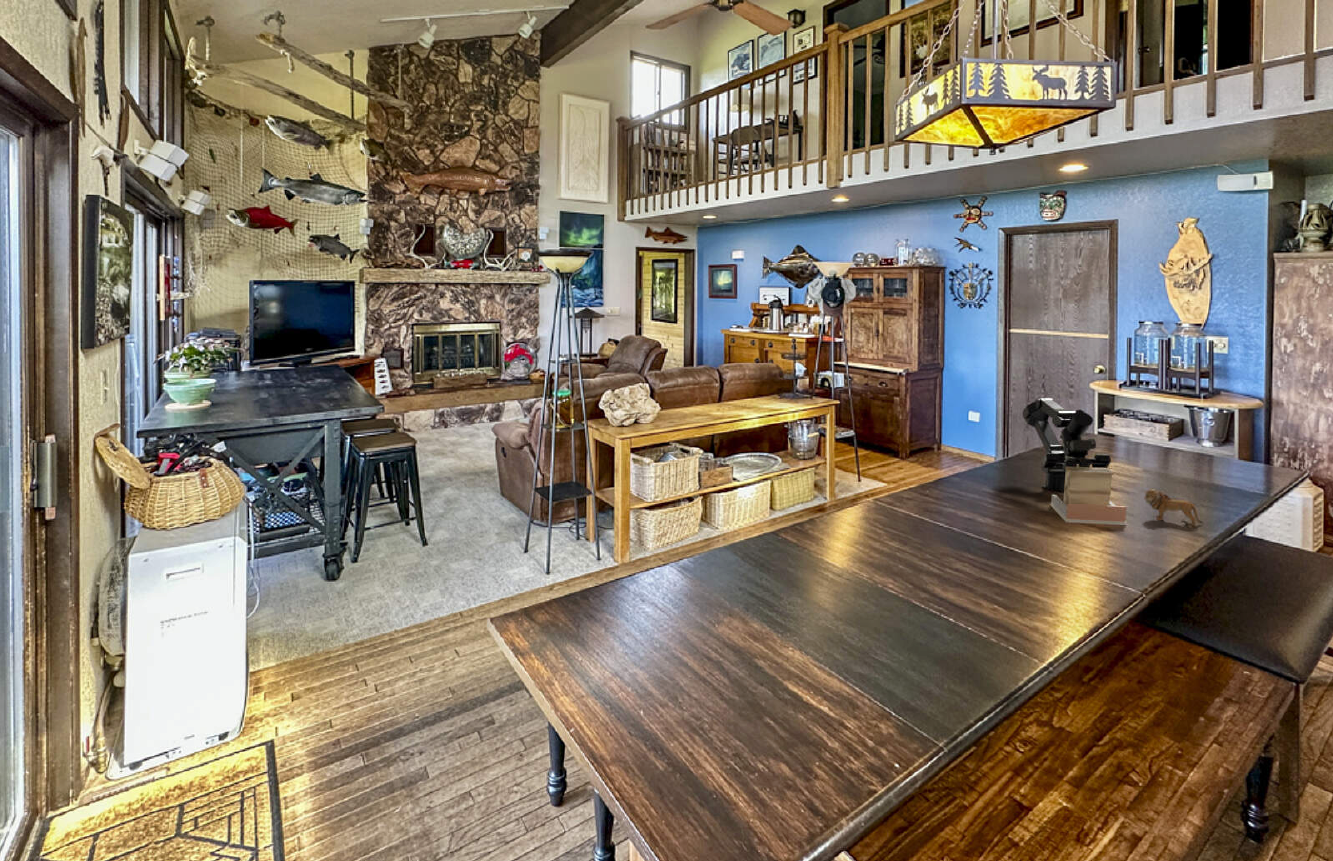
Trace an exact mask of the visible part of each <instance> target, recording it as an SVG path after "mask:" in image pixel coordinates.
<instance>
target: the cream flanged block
mask: <svg viewBox="0 0 1333 861" xmlns="http://www.w3.org/2000/svg"><path fill="white" fill-rule="evenodd" d="M1065 470H1066V475H1065V485H1064V491H1063V502H1064V503H1065V504H1066V505H1067V504H1085V505H1109V502H1110V501H1111V500H1110V499H1111V495H1112V494H1111V493H1112V491H1111V489H1112V479H1113V478H1112V477H1113V476H1114V472H1113V471H1111V470H1110V469H1108V467H1107V468H1092V466H1090V467H1079V466H1077V467H1065Z"/></svg>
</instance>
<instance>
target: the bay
mask: <svg viewBox="0 0 1333 861" xmlns="http://www.w3.org/2000/svg"><path fill="white" fill-rule="evenodd" d="M1050 506H1051V507H1052V508H1053V510H1054V511H1055V512H1056V513H1057V514H1058V515H1059V516H1060V517H1061V518H1062V519H1063V520H1064V522H1065V523H1070V524H1071V523H1072V524H1074V523H1075V524H1076V523H1077V524H1094V525H1095V524H1097V525H1113V526H1115V525H1116V526H1127V524H1128V523H1127V521H1126V518H1127V505H1116V504H1115V503H1114V502H1112V501H1111V500H1110V502H1109V505H1085V504H1067V505H1066V504H1065V503H1064V500H1062V499H1061V498H1060V497H1059V496H1058V495H1057V494H1051V502H1050Z"/></svg>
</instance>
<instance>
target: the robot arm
mask: <svg viewBox="0 0 1333 861" xmlns="http://www.w3.org/2000/svg"><path fill="white" fill-rule="evenodd" d="M1022 418H1023V419H1024V421H1025V422H1026V424H1027V425H1028V426H1030V427H1033V428H1034V429H1035V431H1036V433H1037V435H1038V438H1039V439H1040V441H1041V443H1042V445H1043V447H1044V449H1045V451H1046V453H1045V454H1044V457H1043V460H1042V463H1041V472H1044V473H1045V474H1046V476H1045V477H1046V478H1045V484H1044V485H1043V484H1042V485H1041V487H1042V488H1043V489H1046V490H1049V491H1052V492H1062V491H1063V492H1064V485H1065V475H1066V470H1065V467H1092V468H1107V469H1108V467H1109V466H1110V464H1111V462H1112V458H1111V456H1110V454H1108V453H1107V454H1106V453H1105V454H1103V453H1102V454H1101V453H1095V455H1094V456H1093V457H1087V456H1088V455H1089V451H1090V450H1095V449H1096V448H1097V442H1096V438H1088V439H1083V437H1082V435H1085V434H1086V433H1087V431H1088V430H1089V428H1090V427H1091V425H1092V424H1093V422H1094V419H1093V417H1092V416H1091V415H1090V414H1089V413H1087V412H1084V409H1076V410H1073V409H1067V408H1063V407H1062V406H1061V405H1060V404H1058V403H1057V402H1055V401H1054V399H1053V398H1050V397H1039V398H1036V400H1034V401H1033V402H1031V403H1029V404H1027V405H1026V406H1025V407H1024V409H1023V410H1022ZM1050 418H1051V423H1052V424H1053V426H1054V427H1055V428H1056V429H1062V430H1061V432H1060V437H1059V439H1061V440H1062V445H1061V443H1060V441H1059V440H1058V438H1057V435H1056V433H1055V432H1054V431H1053V428H1052V426H1051V425H1050V423H1049V419H1050Z"/></svg>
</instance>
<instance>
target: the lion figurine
mask: <svg viewBox="0 0 1333 861" xmlns="http://www.w3.org/2000/svg"><path fill="white" fill-rule="evenodd" d="M1143 498H1144V501H1145V502H1146V504H1147V505H1149V506H1151V508H1152V509H1154V510H1157V511H1158V514H1159V515H1156V520H1158V521H1162V520H1163V519H1164V515H1165V513H1166V511H1168V512H1171V513H1177V512H1182V513H1183V514H1184V515H1185V517H1184V518H1181V521H1182V522H1187V521H1188V520H1190V521H1191V522H1189V526H1195V525H1196V521H1197V523H1199V524H1204V522H1203V521H1201V520H1200V519H1199V518H1198V512H1197V508H1196V506H1195V505H1194V504H1193V503H1192V502H1190V501H1188V500H1176V499H1175V500H1174V499H1172V498H1170V497H1169V496H1168V495H1167V494H1165V493H1163V492H1161V491H1159V490H1156V488H1155V489H1148V490H1145V495H1144V497H1143ZM1192 510H1193V513H1194V515H1193V513H1192Z"/></svg>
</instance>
